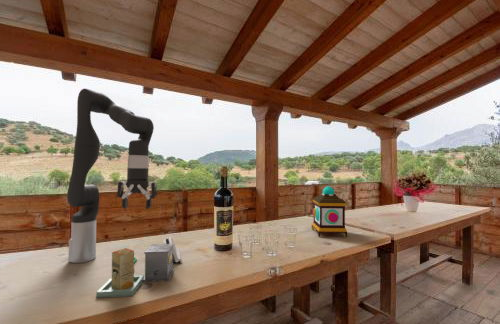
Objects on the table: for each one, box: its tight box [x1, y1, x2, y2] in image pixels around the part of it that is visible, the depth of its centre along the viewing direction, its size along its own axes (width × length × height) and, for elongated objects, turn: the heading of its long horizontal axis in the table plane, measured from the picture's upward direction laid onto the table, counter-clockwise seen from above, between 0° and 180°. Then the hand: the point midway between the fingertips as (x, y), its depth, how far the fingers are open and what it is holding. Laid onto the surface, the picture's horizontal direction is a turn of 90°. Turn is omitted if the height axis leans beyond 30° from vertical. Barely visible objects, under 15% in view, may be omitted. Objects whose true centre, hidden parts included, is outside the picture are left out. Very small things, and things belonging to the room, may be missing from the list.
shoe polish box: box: [111, 247, 135, 290], centre depth 84 cm, size 5×5×12 cm
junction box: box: [142, 243, 175, 283], centre depth 93 cm, size 9×10×11 cm
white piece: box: [162, 236, 183, 265], centre depth 111 cm, size 17×5×10 cm, turn 20°
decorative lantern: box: [311, 185, 348, 238], centre depth 154 cm, size 20×20×30 cm
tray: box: [95, 274, 145, 299], centre depth 83 cm, size 11×11×2 cm
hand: (136, 208), depth 95 cm, fingers open, 8 cm apart
